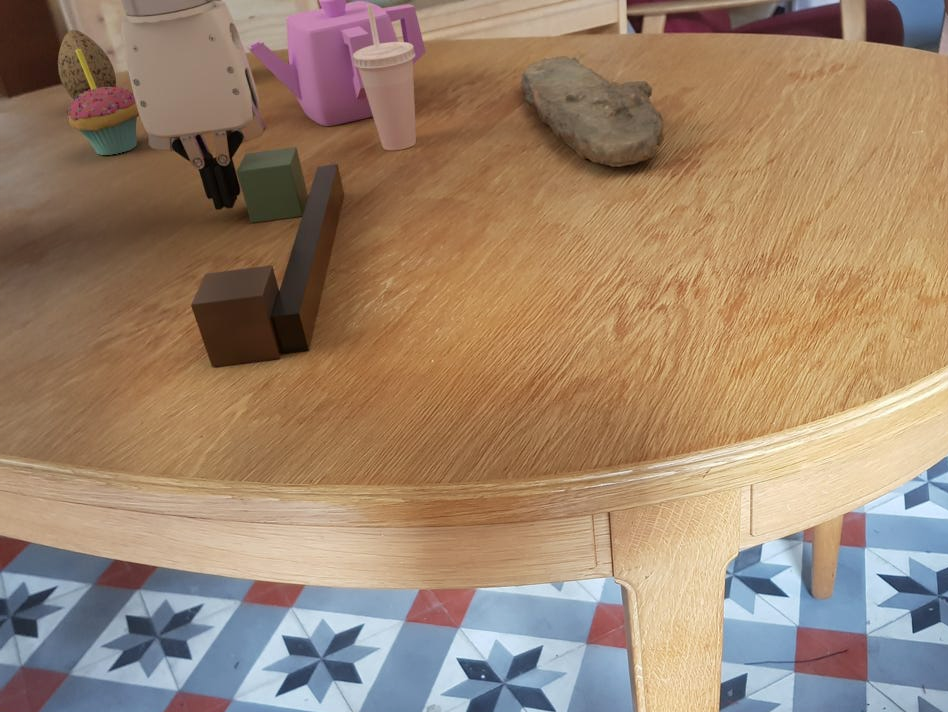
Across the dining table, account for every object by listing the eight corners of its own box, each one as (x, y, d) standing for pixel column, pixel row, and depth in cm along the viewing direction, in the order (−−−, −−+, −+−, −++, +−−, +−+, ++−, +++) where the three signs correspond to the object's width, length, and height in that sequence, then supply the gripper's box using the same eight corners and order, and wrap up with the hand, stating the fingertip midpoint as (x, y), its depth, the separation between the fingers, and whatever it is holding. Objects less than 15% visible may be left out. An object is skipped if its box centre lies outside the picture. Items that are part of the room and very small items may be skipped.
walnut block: (211, 367, 68) (190, 304, 65) (224, 334, 72) (204, 273, 69) (280, 359, 68) (261, 295, 65) (289, 325, 72) (272, 264, 69)
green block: (251, 223, 90) (236, 171, 87) (259, 203, 94) (245, 153, 90) (303, 216, 89) (290, 164, 86) (308, 197, 93) (296, 146, 90)
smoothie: (363, 143, 105) (336, 5, 96) (418, 130, 106) (396, -7, 98) (379, 159, 100) (352, 15, 91) (436, 145, 101) (415, 2, 93)
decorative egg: (83, 102, 136) (55, 27, 130) (131, 96, 135) (105, 20, 129) (65, 117, 130) (36, 40, 124) (115, 111, 130) (88, 33, 124)
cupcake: (71, 154, 116) (31, 49, 108) (135, 132, 120) (100, 31, 112) (100, 166, 110) (60, 57, 103) (166, 143, 114) (131, 37, 107)
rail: (281, 354, 68) (270, 316, 66) (324, 196, 93) (317, 166, 91) (309, 350, 68) (299, 313, 66) (344, 194, 93) (337, 163, 91)
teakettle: (382, 128, 108) (361, 10, 101) (259, 128, 114) (230, 17, 107) (443, 83, 120) (428, -25, 113) (328, 85, 126) (307, -17, 119)
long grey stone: (585, 85, 116) (507, 105, 115) (580, 39, 113) (499, 59, 112) (691, 157, 87) (588, 183, 87) (688, 98, 84) (580, 124, 84)
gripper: (260, -26, 83) (307, 180, 94) (93, -3, 83) (160, 199, 94) (246, -10, 77) (298, 208, 88) (66, 15, 77) (141, 228, 88)
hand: (226, 203), depth 91 cm, fingers closed
